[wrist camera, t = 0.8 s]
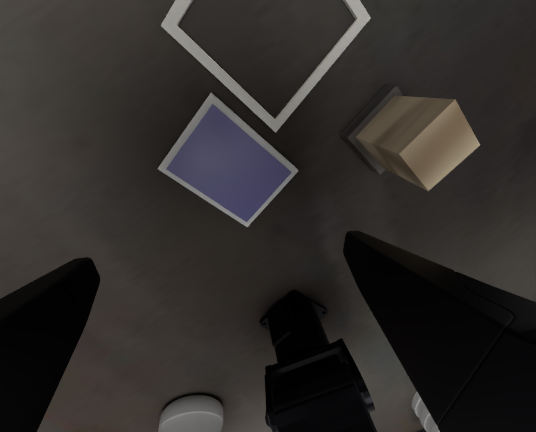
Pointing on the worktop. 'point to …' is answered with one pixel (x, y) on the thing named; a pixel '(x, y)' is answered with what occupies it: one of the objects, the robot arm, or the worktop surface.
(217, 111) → the ink pad
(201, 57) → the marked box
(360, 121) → the wooden stamp
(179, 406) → the vodka
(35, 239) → the worktop surface
